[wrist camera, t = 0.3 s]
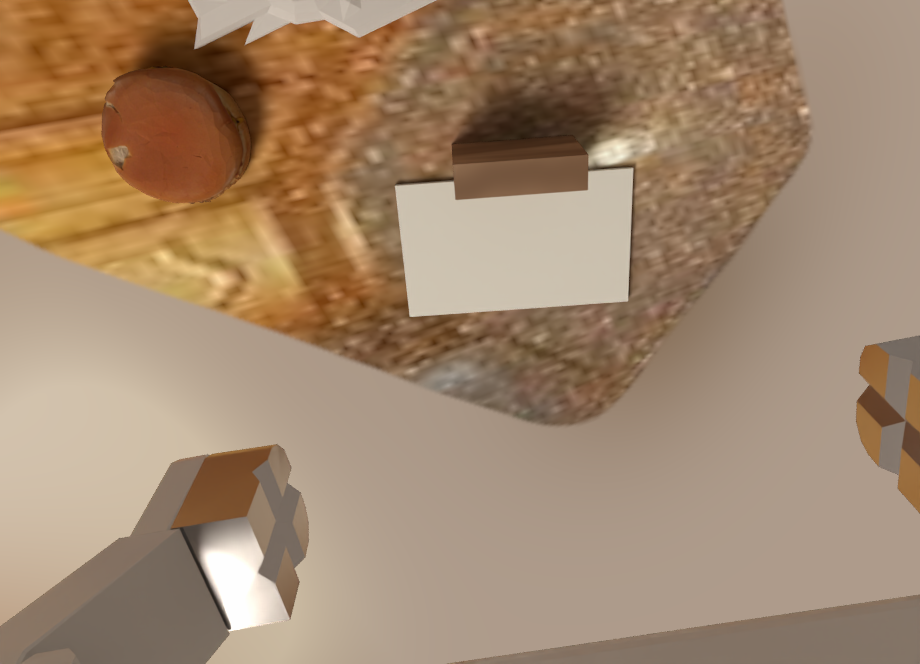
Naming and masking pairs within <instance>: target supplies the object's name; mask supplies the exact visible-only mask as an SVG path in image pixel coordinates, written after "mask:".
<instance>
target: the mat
mask: <svg viewBox="0 0 920 664" xmlns="http://www.w3.org/2000/svg"><path fill="white" fill-rule="evenodd" d="M395 189H396V198H397V207H398V216H399V225H400V234H401V243H402V251H403V260H404V269H405V278H406V287H407V296H408V305H409V314H410V317H415V316H429V315H443V314H457V313H471V312H484V311H498V310H512V309H526V308H540V307H554V306H568V305H582V304H596V303H610V302H624V301H628V290H629V264H630V239H631V214H632V189H633V167H625V168H612V169H598V170H588V190H585V191H572V192H558V193H544V194H531V195H517V196H504V197H490V198H477V199H463V200H455V188H454V180H450V181H436V182H423V183H409V184H396V185H395Z"/></svg>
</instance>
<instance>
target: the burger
mask: <svg viewBox="0 0 920 664" xmlns="http://www.w3.org/2000/svg"><path fill="white" fill-rule="evenodd" d="M114 82H115V84H114V85H113V86H112V88H111V89H110V90H109V91H108V92H107V94H106V97H105V100H106V103H105V105H104V109H103V113H102V138H103V142H104V146H105V149H106V152H107V154H108V157H109V158H110V159H111V161H112V163H113V165H114V167H115V169H116V171H117V173H118V174H119V175H120V176H121V177H122V178H123V179H124V180H125V181H126V182H127V183H128V184H129V185H131V186H133V187H134V188H136V189H138V190H140V191H141V192H143V193H145V194H146V195H149V196H152V197H154V198H157V199H160V200H163V201H168V202H173V203H191V204H193V203H195V202H200V203H203V202H204V201H205V202H211V201H210V200H212V199H215V198H217V197H219V196H220V195H221V194H222V193H224V191H225V190H226V189H228V188H230V186H231V185H233V184H235V183H236V182H237V181H238V180H239V179H240V178H241V177H242V175H243V174H244V172H245V170H246V168H247V165H248V162H249V159H250V151H251V138H250V135H249V128H248V126H247V123H246V121H245V118H244V116H243V114H242V112H241V110H240V109H239V107H238V106H237V104H236V102H235V100H234V99H233V98H232V96H231V95H230V94H229V93H227V92H226V91H225V90H223V89H222V88H220V87H218V86H217V85H215V84H213V83H212V82H210V81H208V80H206V79H204V78H202V77H201V76H199V75H198V74H196V73H193V72H190V71H187V70H183V69H180V68H171V67H167V66H163V67H155V66H153V67H150V68H147V69H140V70H136V71H132V72H128V73H126V74H124V75H121V76H119V77H117V78H116V79H115V80H114Z"/></svg>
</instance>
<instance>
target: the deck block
mask: <svg viewBox="0 0 920 664" xmlns="http://www.w3.org/2000/svg"><path fill="white" fill-rule="evenodd" d="M452 159H453V175H454V188H455V200H463V199H477V198H490V197H504V196H517V195H531V194H544V193H558V192H572V191H585V190H588V154H587V152H586V151H585V150H584V149H583V147H582V146H581V145H580V144H579V142H578V141H577V140H576V139H575V137H574V136H573V135H568V136H555V137H541V138H528V139H514V140H501V141H488V142H474V143H461V144H452Z"/></svg>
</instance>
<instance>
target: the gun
mask: <svg viewBox="0 0 920 664" xmlns="http://www.w3.org/2000/svg"><path fill="white" fill-rule="evenodd" d="M188 1H189V3H190V5H191V6H192V8H193V10H194V12H195V14H196V16H197V17H198V25H197V32H196V40H195V47H194V49H198V48H200V47H202V46H204V45H206V44H208V43H210V42H212V41H214V40H216V39H218V38H220V37H222V36H224V35H227V34H229V33H231V32H233V31H235V30H237V29H239V28H241V27H243V26H245V25H247V24H249V23H251V22H253V21H254V22H253V25H252V27H251V30H250V33H249V35H248V38H247V40H246V43H245V45H246V44H248V43H250V42H252V41H254V40H256V39H258V38H260V37H262V36H264V35H266V34H269V33H271V32H273V31H275V30H277V29H279V28H281V27H283V26H285V25H287V24H289V23H294V24H301V23H307V22H313V21H319V20H326V21H328V22H330V23H332V24H334V25H336V26H338V27H340V28H341V29H343V30H345V31H347V32H349V33H351V34H353V35H355V36H357V37H362V36H364V35H366V34H368V33H370V32H372V31H374V30H376V29H378V28H380V27H382V26H384V25H386V24H388V23H390V22H392V21H395V20H397V19H399V18H401V17H403V16H405V15H407V14H409V13H411V12H413V11H415V10H417V9H419V8H421V7H423V6H425V5H428V4H430V3H432V2H434V1H436V0H188Z"/></svg>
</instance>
